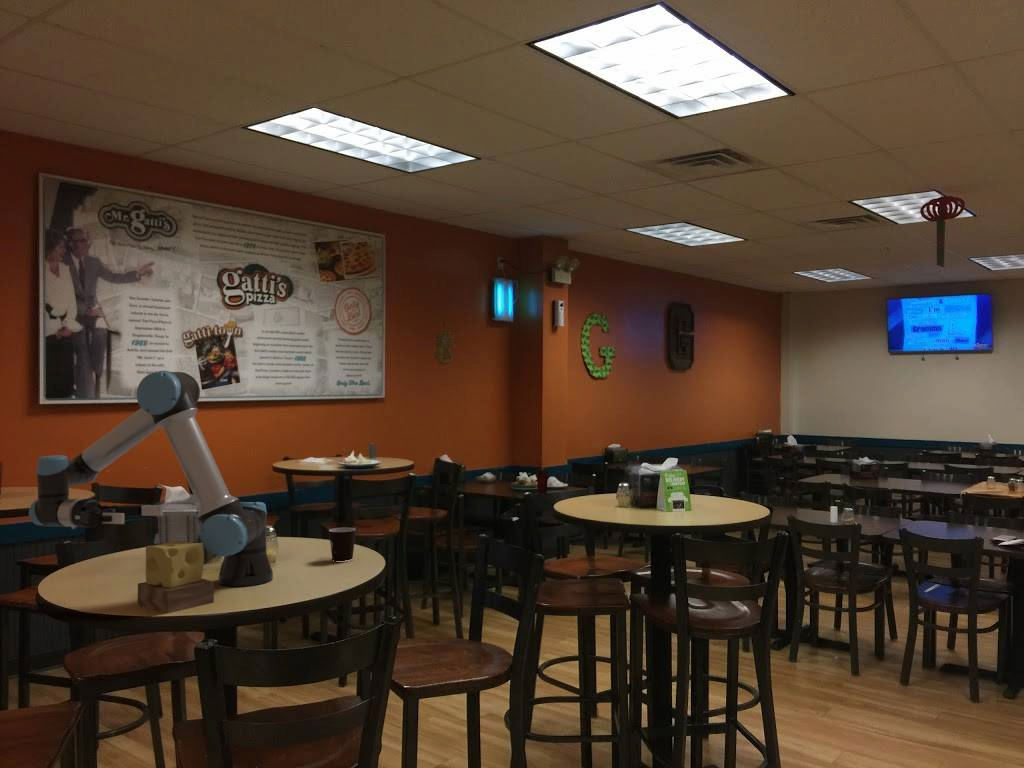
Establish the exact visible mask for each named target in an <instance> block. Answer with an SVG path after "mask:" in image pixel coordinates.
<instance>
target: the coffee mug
mask: <svg viewBox="0 0 1024 768" xmlns="http://www.w3.org/2000/svg"><path fill="white" fill-rule="evenodd" d="M356 532H357V531H356V528H355V527H336V528H330V529H329V530H328V534H329V535H328V536H329V542H330V550H331V560H334V561H345V560H350V559H352V558H353V559H354V548H355V541H356V540H355V539H356Z"/></svg>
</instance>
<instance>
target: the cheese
mask: <svg viewBox="0 0 1024 768" xmlns="http://www.w3.org/2000/svg"><path fill="white" fill-rule="evenodd" d="M204 549H205V548H204V546H203V543H202V542H189V541H188V542H187V541H181V540H180V541H179V540H175V541H169V542H165V543H158V544H155V545H148V546H146V547H145V580H146V581H145V582H146V583H147V584H150V585H162V586H163V587H167V588H174V587H178V586H181V585H185V584H190V583H194V582H199V581H201V579H203V578H202V577H203V572H204V571H203V570H204V565H205V562H204V561H205V550H204Z"/></svg>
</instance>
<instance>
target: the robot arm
mask: <svg viewBox="0 0 1024 768" xmlns="http://www.w3.org/2000/svg"><path fill="white" fill-rule="evenodd" d="M200 396H201V390H200V386H199V383H198V382H197V380H196V379H195V378H194V377H193V376H192V375H190V374H189V373H186V372H182V371H168V370H159V371H155V372H154V371H153V372H151V373H148V374H147V375H145V376H144V377H143V378H142V379H141V380H140V382H139V383H138V386H137V389H136V400H137V403H138V406H139V407H140V408H139V409H138V410H136V411H134V412H133V414H131V415H130V416H129V417H127V418H126V419H124V420H123V421H122V422H121V423H119V424H118V425H117V426H115V427H113V428H112V429H111V430H110V431H108V432H107V433H106V434H104V435H103V436H102V437H100V438H99V439H97V440H96V441H95V442H94V443H92V444H91V445H89V446H88V447H87V448H86V449H84V450H82V452H80V453H79V454H78V455H76V456H75V457H73V458H72V459H68V456H66V455H48V456H47V455H45V456H40V457H39V458H37V467H36V478H37V499H35V500H34V501H33V502H32V503H31V504H30V507H29V510H28V517H29V519H30V521H31V522H32V523H33V524H34V525H36V526H42V527H58V528H59V527H65V528H68V527H71V529H72V530H75V529H76V528H93V527H95V526H96V527H102V525H103V524H109V525H112V524H113V525H124V524H125V517H128V516H139V515H140V516H144V517H145V516H146V517H147V516H148V517H149V516H150V517H151V516H152V517H163V516H164V515H163V514H164V511H163V510H164V509H163V508H164V507H163V505H149V504H146V502H142V504H129V505H125V504H124V505H115V504H114V505H107V504H106V505H105V504H103V505H101V503H100V502H98V501H97V500H95V499H90V498H89V499H88V498H87V499H86V498H85V499H84V498H82V499H81V498H70V496H69V494H70V492H69V491H70V489H69V488H70V487H75V486H83V485H86V484H88V483H90V482H91V483H92V482H93V481H94V480H95V479H96V478H97V477H98V474H99V473H100V472H101V471H102V470H104V469H106V467H108V466H109V465H110V464H112V463H113V462H115V461H117V460H118V459H119V458H120V457H121V456H123V455H124V454H126V453H127V452H128V451H130V450H131V449H132V448H133V447H135V446H137V445H138V444H139V443H141V442H142V441H143V440H145V439H146V438H147V437H148V436H149V435H151V434H152V433H154V432H155V431H157V430H158V429H162V430H164V432H165V434H166V436H167V439H168V441H169V443H170V446H171V448H172V450H173V452H174V453H175V456H176V459H177V461H178V463H179V465H180V467H181V469H182V472H183V474H184V477H185V479H186V481H187V483H188V485H189V488H190V490H191V492H192V495H193V497H194V499H195V501H196V503H197V505H198V507H199V511H198V513H197V520H198V522H199V525H200V532H199V538H200V543H203V549H205V550H206V551H207V552H209V553H210V554H212V555H213V556H214V555H215V556H218V557H224V558H223V561H222V564H221V566H220V570H219V572H218V573H219V574H218V584H220V585H222V586H226V587H246V586H247V587H248V586H255V585H256V586H257V585H261V584H265V583H269V582H272V580H273V579H274V572H273V568H272V567H271V566H272V565H271V562H270V560H269V556H268V553H267V515H268V511H267V505H266V503H264V502H262V501H261V502H260V501H252V502H251V501H250V502H249V501H247V502H246V501H245V502H244V501H242V502H241V501H240V499H239V498H238V497H236V496H233V495H231V494H230V492H229V489H228V486H227V485H226V483H225V480H224V479H223V476H222V474H221V471H220V470H219V467H218V464H217V463H216V461H215V458H214V456H213V455H212V451H211V449H210V447H209V446H208V442H207V441H206V438H205V436H204V435H203V432H202V430H201V427H200V425H199V424H198V420H197V419H196V416H197V415H196V414H197V412H198V407H197V403H198V402H199V400H200Z"/></svg>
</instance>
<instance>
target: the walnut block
mask: <svg viewBox="0 0 1024 768" xmlns="http://www.w3.org/2000/svg"><path fill="white" fill-rule="evenodd" d="M214 583H215V581H213V580H209V579H205V578H201V581H199V582H194V583H190V584H185V585H181V586H178V587H174V588H167V587H163V586H162V585H150V584H147V583H146V581H145V582H140V583H139V582H138V583H137V606H139V605H141V606H140V607H143V606H144V607H143V608H146V607H148V608H147V609H150V608H151V609H150V610H153V609H155V610H154V611H157V610H158V611H157V612H161V613H164V612H165V614H171V613H175V612H180V611H185V610H189V609H193V608H196V607H201V606H205V605H209V604H214V600H215V594H214V593H215V592H214V590H215V589H214V587H215V585H214Z"/></svg>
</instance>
